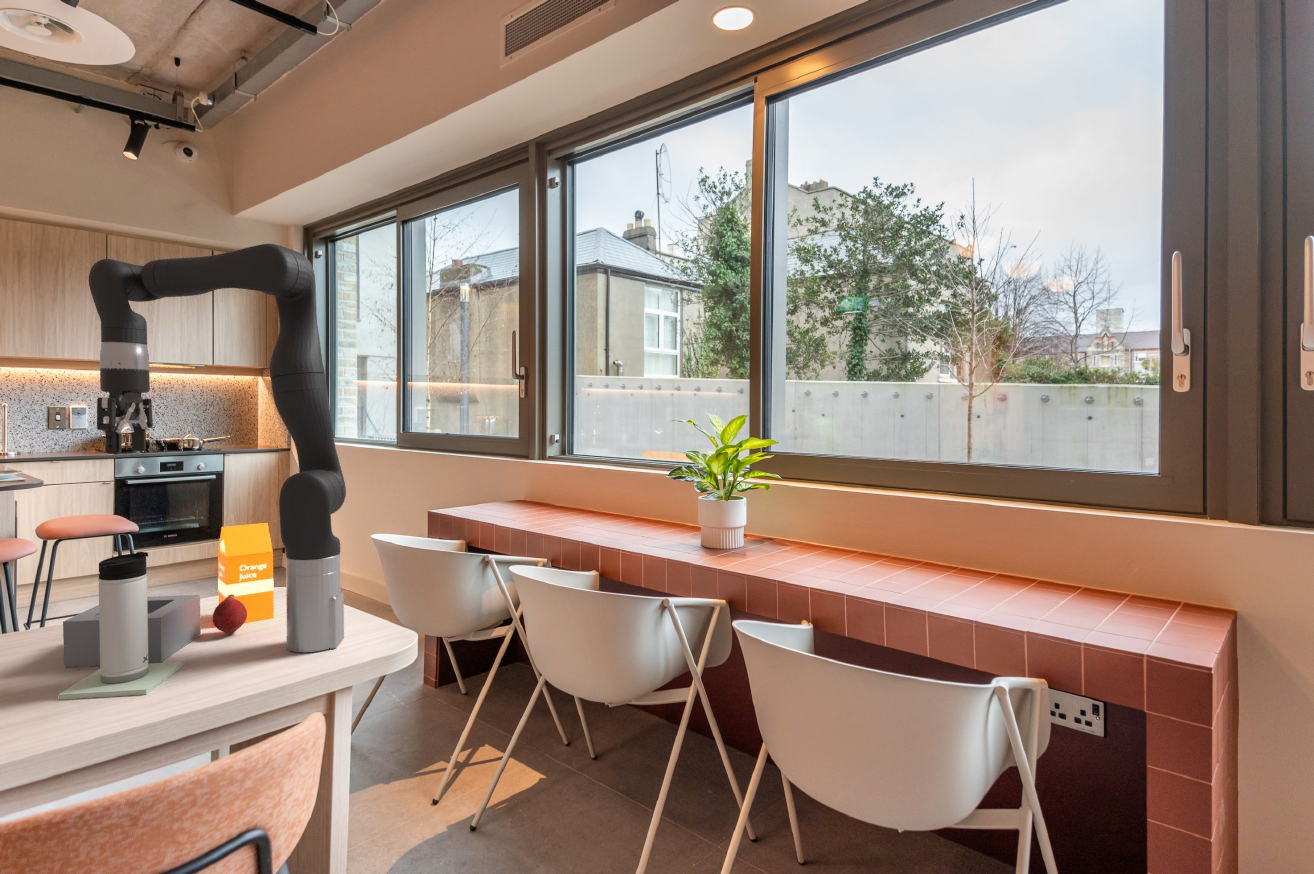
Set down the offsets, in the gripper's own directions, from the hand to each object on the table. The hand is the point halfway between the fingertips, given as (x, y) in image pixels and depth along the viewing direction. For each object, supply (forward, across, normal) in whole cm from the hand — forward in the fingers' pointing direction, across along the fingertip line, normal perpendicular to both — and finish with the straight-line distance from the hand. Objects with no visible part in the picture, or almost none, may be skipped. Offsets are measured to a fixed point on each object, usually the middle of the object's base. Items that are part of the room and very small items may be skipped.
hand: (126, 452), depth 133 cm
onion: (+36, -1, -18) cm, 41 cm away
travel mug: (+36, -24, -11) cm, 44 cm away
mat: (+36, -24, -11) cm, 45 cm away
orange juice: (+36, +10, -17) cm, 41 cm away
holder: (+36, -8, -5) cm, 37 cm away
